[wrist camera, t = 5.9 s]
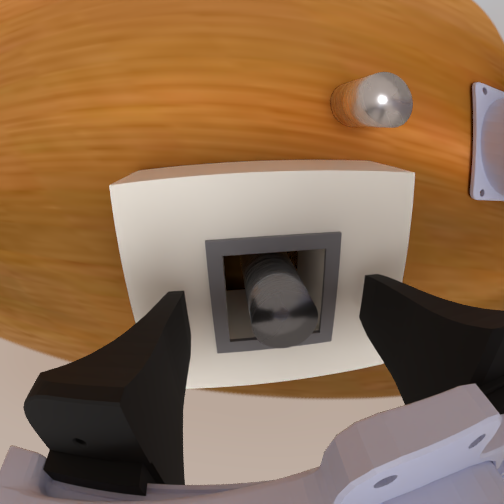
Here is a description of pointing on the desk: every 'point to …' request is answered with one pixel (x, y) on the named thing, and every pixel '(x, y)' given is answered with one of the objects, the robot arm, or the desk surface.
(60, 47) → the desk surface
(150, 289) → the pin block
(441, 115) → the desk surface
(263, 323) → the long pin
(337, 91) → the short pin
